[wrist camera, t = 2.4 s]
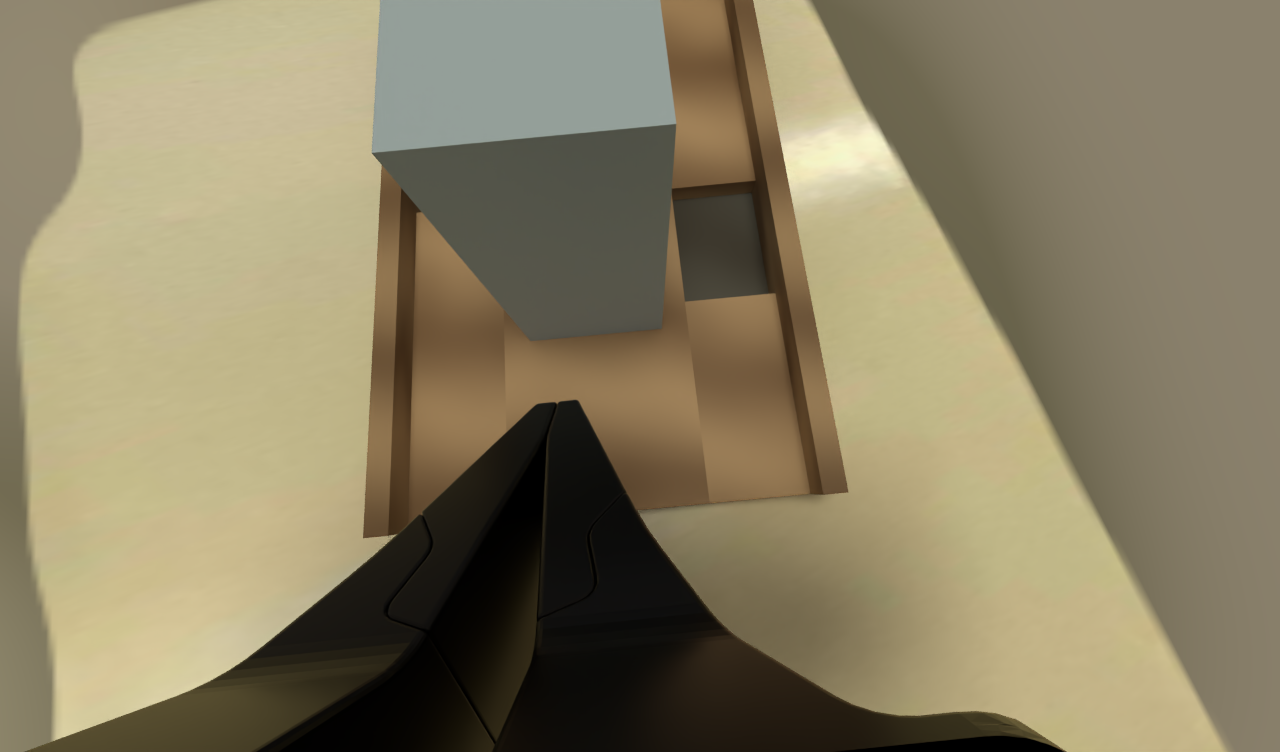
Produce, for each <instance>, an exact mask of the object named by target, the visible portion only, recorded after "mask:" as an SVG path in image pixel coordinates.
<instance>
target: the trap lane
mask: <svg viewBox="0 0 1280 752" xmlns="http://www.w3.org/2000/svg"><path fill="white" fill-rule="evenodd" d="M660 3H661V11H662V18H663V26H664V33H665V41H666V49H667V56H668V64H669V71H670V79H671V87H672V94H673V102H674V109H675V117H676V137H675V151H674V165H673V178H672V192H671V206H670V220H669V234H668V248H667V262H666V276H665V290H664V304H663V318H662V329H653V330H643V331H632V332H622V333H611V334H601V335H590V336H580V337H569V338H558V339H548V340H537V341H530V340H529V339H528V337H527V336H526V335H525V334H524V333H523V331H522V330H521V329H520V328H519V327H518V326H517V324H516V323H515V322H514V321H513V320H512V318H511V317H510V316H509V315H508V314H507V313H506V311H505V310H504V309H503V308H502V307H501V305H500V304H499V303H498V302H497V301H496V299H495V298H494V297H493V296H492V295H491V294H490V292H489V291H488V290H487V289H486V288H485V286H484V285H483V284H482V283H481V282H480V281H479V279H478V278H477V277H476V276H475V275H474V273H473V272H472V271H471V270H470V269H469V268H468V266H467V265H466V264H465V263H464V262H463V260H462V259H461V258H460V257H459V256H458V254H457V253H456V252H455V251H454V250H453V249H452V247H451V246H450V245H449V244H448V243H447V241H446V240H445V239H444V238H443V237H442V236H441V234H440V233H439V232H438V231H437V230H436V228H435V227H434V226H433V225H432V224H431V222H430V221H429V220H428V219H427V218H426V217H425V215H424V214H423V213H422V212H421V211H420V209H419V208H418V207H417V206H416V205H415V204H414V202H413V201H412V200H411V199H410V198H409V196H408V195H407V194H406V193H405V192H404V191H403V189H402V188H401V187H400V186H399V185H398V183H397V182H396V181H395V180H394V179H393V177H392V176H391V175H390V174H389V173H388V172H387V170H386V169H385V168H384V167H383V166H382V170H381V190H380V210H379V231H378V251H377V271H376V291H375V311H374V331H373V351H372V372H371V392H370V412H369V432H368V452H367V472H366V492H365V513H364V533H363V538H369V537H380V536H389V535H394V534H398V533H399V532H400V531H402V530H403V529H404V528H405V527H406V526H407V525H408V524H409V523H410V522H411V521H412V520H413V519H414V518H415V517H416V516H418V515H422V511H423V510H424V509H425V508H426V507H427V506H428V505H429V504H430V503H432V502H433V501H434V500H435V499H436V498H437V497H438V496H439V495H440V494H441V493H442V492H443V491H444V490H445V489H446V488H447V487H449V486H450V485H451V484H452V483H453V482H454V481H455V480H456V479H457V478H458V477H459V476H460V475H461V474H462V473H463V472H464V471H466V470H467V469H468V468H469V467H470V466H471V465H472V464H473V463H474V462H475V461H476V460H477V459H478V458H479V457H480V456H481V455H483V454H484V453H485V452H486V451H487V450H488V449H489V448H490V447H491V446H492V445H493V444H494V443H495V442H496V441H497V440H499V439H500V438H501V437H502V436H503V435H504V434H505V433H506V432H507V431H508V430H509V429H510V428H511V427H512V426H513V425H514V424H516V423H517V422H518V421H519V420H520V419H521V418H522V417H523V416H524V415H525V414H526V413H527V412H528V411H529V410H530V409H531V408H533V407H534V406H535V405H536V404H538V403H548V402H556V403H557V404H558V402H560V401H567V400H578V401H579V402H580V404H581V406H582V408H583V410H584V412H585V414H586V416H587V417H588V419H589V421H590V423H591V425H592V427H593V429H594V431H595V433H596V435H597V436H598V438H599V440H600V442H601V444H602V446H603V448H604V450H605V452H606V454H607V455H608V457H609V459H610V461H611V463H612V465H613V467H614V469H615V471H616V473H617V474H618V476H619V478H620V480H621V482H622V484H623V486H624V488H625V490H626V492H627V494H628V495H629V497H630V499H631V501H632V503H633V504H634V506H635V508H636V510H644V509H654V508H665V507H676V506H686V505H697V504H707V503H718V502H728V501H739V500H750V499H760V498H771V497H781V496H792V495H803V494H822V495H825V494H835V493H846V492H848V487H847V482H846V477H845V472H844V467H843V462H842V457H841V451H840V446H839V441H838V436H837V431H836V426H835V420H834V415H833V410H832V405H831V400H830V395H829V390H828V384H827V379H826V374H825V369H824V364H823V359H822V353H821V348H820V343H819V338H818V333H817V328H816V323H815V317H814V312H813V307H812V302H811V297H810V292H809V287H808V281H807V276H806V271H805V266H804V261H803V256H802V250H801V245H800V240H799V235H798V230H797V225H796V220H795V214H794V209H793V204H792V199H791V194H790V189H789V183H788V178H787V173H786V168H785V163H784V158H783V153H782V147H781V142H780V137H779V132H778V127H777V122H776V117H775V111H774V106H773V101H772V96H771V91H770V86H769V80H768V75H767V70H766V65H765V60H764V55H763V50H762V44H761V39H760V34H759V29H758V24H757V19H756V13H755V8H754V3H753V0H660Z"/></svg>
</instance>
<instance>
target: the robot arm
mask: <svg viewBox="0 0 1280 752" xmlns="http://www.w3.org/2000/svg"><path fill="white" fill-rule="evenodd" d="M25 752H1066V751H1064V750H1063V749H1061V748H1060V747H1058V746H1057V745H1055V744H1054V743H1052V742H1051V741H1049V740H1048V739H1046V738H1045V737H1043V736H1042V735H1040V734H1038V733H1037V732H1035V731H1034V730H1032V729H1031V728H1029V727H1028V726H1026V725H1025V724H1023V723H1021V722H1020V721H1018V720H1016V719H1012V718H1009V717H1006V716H1003V715H1000V714H996V713H988V712H979V711H971V712H952V713H942V714H932V715H922V716H897V715H891V714H885V713H879V712H874V711H871V710H868V709H865V708H862V707H859V706H855V705H853V704H851V703H849V702H847V701H845V700H842V699H840V698H838V697H836V696H835V695H833V694H831V693H830V692H828V691H826V690H825V689H823V688H821V687H820V686H818V685H816V684H815V683H813V682H811V681H810V680H808V679H806V678H804V677H803V676H801V675H799V674H798V673H796V672H794V671H793V670H791V669H789V668H788V667H786V666H784V665H783V664H781V663H779V662H778V661H776V660H774V659H773V658H771V657H769V656H768V655H766V654H764V653H763V652H761V651H759V650H758V649H756V648H754V647H753V646H751V645H749V644H748V643H746V642H744V641H743V640H741V639H740V638H738V637H737V636H735V635H734V634H733V633H731V632H730V631H729V630H728V629H727V628H726V627H725V626H724V625H723V624H722V623H721V622H720V621H719V620H718V619H717V618H716V617H715V616H714V615H713V613H712V612H711V611H710V610H709V609H708V607H707V606H706V605H705V604H704V602H703V601H702V600H701V599H700V597H699V596H698V595H697V593H696V592H695V591H694V590H693V588H692V587H691V586H690V584H689V583H688V582H687V580H686V579H685V578H684V577H683V575H682V574H681V573H680V571H679V570H678V569H677V568H676V566H675V565H674V564H673V562H672V561H671V560H670V558H669V557H668V556H667V555H666V553H665V552H664V551H663V549H662V548H661V547H660V545H659V544H658V542H657V541H656V540H655V538H654V537H653V535H652V534H651V533H650V531H649V530H648V528H647V527H646V525H645V523H644V522H643V520H642V518H641V517H640V515H639V513H638V511H637V510H636V508H635V506H634V504H633V503H632V501H631V499H630V497H629V495H628V494H627V492H626V490H625V488H624V486H623V484H622V482H621V480H620V478H619V476H618V474H617V473H616V471H615V469H614V467H613V465H612V463H611V461H610V459H609V457H608V455H607V454H606V452H605V450H604V448H603V446H602V444H601V442H600V440H599V438H598V436H597V435H596V433H595V431H594V429H593V427H592V425H591V423H590V421H589V419H588V417H587V416H586V414H585V412H584V410H583V408H582V406H581V404H580V402H579V401H578V400H567V401H560V402H558V404H557V403H556V402H548V403H538V404H536V405H535V406H534V407H533V408H531V409H530V410H529V411H528V412H527V413H526V414H525V415H524V416H523V417H522V418H521V419H520V420H519V421H518V422H517V423H516V424H514V425H513V426H512V427H511V428H510V429H509V430H508V431H507V432H506V433H505V434H504V435H503V436H502V437H501V438H500V439H499V440H497V441H496V442H495V443H494V444H493V445H492V446H491V447H490V448H489V449H488V450H487V451H486V452H485V453H484V454H483V455H481V456H480V457H479V458H478V459H477V460H476V461H475V462H474V463H473V464H472V465H471V466H470V467H469V468H468V469H467V470H466V471H464V472H463V473H462V474H461V475H460V476H459V477H458V478H457V479H456V480H455V481H454V482H453V483H452V484H451V485H450V486H449V487H447V488H446V489H445V490H444V491H443V492H442V493H441V494H440V495H439V496H438V497H437V498H436V499H435V500H434V501H433V502H432V503H430V504H429V505H428V506H427V507H426V508H425V509H424V510H423V511H422V515H418V516H416V517H415V518H414V519H413V520H412V521H411V522H410V523H409V524H408V525H407V526H406V527H405V528H404V529H403V530H402V531H400V532H399V533H398V534H397V535H396V536H395V537H394V538H393V539H392V540H390V541H389V542H388V543H387V544H386V545H385V546H384V547H383V548H382V549H380V550H379V551H378V552H377V553H376V554H375V555H374V556H372V557H371V558H370V559H369V560H368V561H367V562H365V563H364V564H363V565H362V566H361V567H359V568H358V569H357V570H356V571H355V572H353V573H352V574H351V575H350V576H349V577H347V578H346V579H345V580H344V581H343V582H341V583H340V584H339V585H338V586H336V587H335V588H334V589H333V590H332V591H330V592H329V593H328V594H327V595H325V596H324V597H323V598H322V599H320V600H319V601H318V602H317V603H315V604H314V605H313V606H312V607H311V608H309V609H308V610H307V611H306V612H304V613H303V614H302V615H301V616H299V617H298V618H297V619H296V620H295V621H293V622H292V623H291V624H290V625H288V626H287V627H286V628H285V629H283V630H282V631H281V632H280V633H279V634H277V635H276V636H275V637H274V638H272V639H271V640H270V641H269V642H267V643H266V644H265V645H264V646H263V647H261V648H260V649H259V650H257V651H256V652H255V653H253V654H252V655H251V656H249V657H248V658H247V659H245V660H244V661H243V662H241V663H240V664H238V665H236V666H235V667H233V668H232V669H230V670H229V671H227V672H225V673H224V674H222V675H220V676H218V677H216V678H215V679H213V680H211V681H209V682H207V683H205V684H203V685H201V686H199V687H197V688H195V689H193V690H190V691H188V692H186V693H183V694H181V695H178V696H176V697H173V698H170V699H167V700H165V701H162V702H159V703H156V704H154V705H151V706H148V707H145V708H143V709H140V710H137V711H134V712H132V713H129V714H126V715H124V716H121V717H118V718H115V719H113V720H110V721H107V722H104V723H102V724H99V725H96V726H93V727H91V728H88V729H85V730H82V731H80V732H77V733H74V734H72V735H69V736H66V737H63V738H61V739H58V740H55V741H52V742H50V743H47V744H44V745H42V746H39V747H36V748H34V749H30V750H28V751H25Z"/></svg>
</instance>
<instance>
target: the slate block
mask: <svg viewBox="0 0 1280 752" xmlns="http://www.w3.org/2000/svg"><path fill="white" fill-rule="evenodd" d="M675 137H676V117H675V109H674V102H673V94H672V87H671V79H670V71H669V64H668V56H667V49H666V41H665V33H664V26H663V18H662V11H661V3H660V0H380V15H379V33H378V51H377V68H376V86H375V104H374V122H373V140H372V154H373V155H374V156H375V157H376V159H377V160H378V161H379V162H380V163H381V164H382V166H383V167H384V168H385V169H386V170H387V172H388V173H389V174H390V175H391V176H392V177H393V179H394V180H395V181H396V182H397V183H398V185H399V186H400V187H401V188H402V189H403V191H404V192H405V193H406V194H407V195H408V196H409V198H410V199H411V200H412V201H413V202H414V204H415V205H416V206H417V207H418V208H419V209H420V211H421V212H422V213H423V214H424V215H425V217H426V218H427V219H428V220H429V221H430V222H431V224H432V225H433V226H434V227H435V228H436V230H437V231H438V232H439V233H440V234H441V236H442V237H443V238H444V239H445V240H446V241H447V243H448V244H449V245H450V246H451V247H452V249H453V250H454V251H455V252H456V253H457V254H458V256H459V257H460V258H461V259H462V260H463V262H464V263H465V264H466V265H467V266H468V268H469V269H470V270H471V271H472V272H473V273H474V275H475V276H476V277H477V278H478V279H479V281H480V282H481V283H482V284H483V285H484V286H485V288H486V289H487V290H488V291H489V292H490V294H491V295H492V296H493V297H494V298H495V299H496V301H497V302H498V303H499V304H500V305H501V307H502V308H503V309H504V310H505V311H506V313H507V314H508V315H509V316H510V317H511V318H512V320H513V321H514V322H515V323H516V324H517V326H518V327H519V328H520V329H521V330H522V331H523V333H524V334H525V335H526V336H527V337H528V339H529V340H530V341H537V340H548V339H558V338H569V337H580V336H590V335H601V334H611V333H622V332H632V331H643V330H653V329H662V318H663V304H664V290H665V276H666V262H667V248H668V234H669V220H670V206H671V192H672V178H673V165H674V151H675Z"/></svg>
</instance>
